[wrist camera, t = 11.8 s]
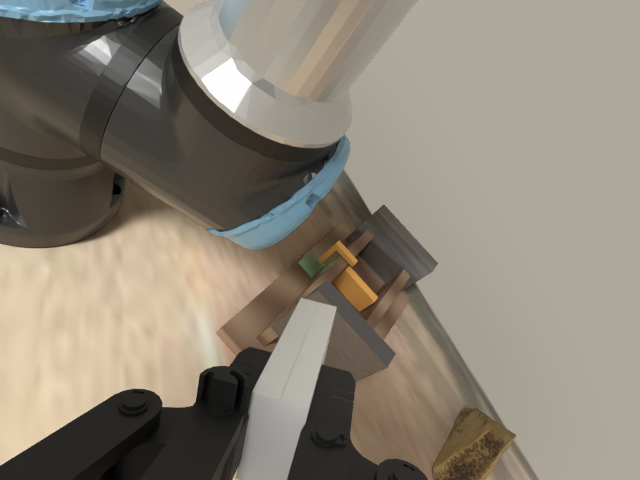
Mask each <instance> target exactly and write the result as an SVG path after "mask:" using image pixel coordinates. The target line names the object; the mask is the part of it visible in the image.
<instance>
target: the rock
mask: <svg viewBox="0 0 640 480" xmlns="http://www.w3.org/2000/svg"><path fill="white" fill-rule="evenodd" d="M515 437H516V435H515V434H514V433H512V432H511V431H509V430H507V429H506V428H504V427H503V426H502V425H500V424H499V423H497V422H496V421H494V420H492V419H491V418H490V417H488V416H487V415H486V414H484V413H483V412H481V411H479V410H478V409H467V410H466V411H465V410H464V411H463V412H461V413H460V415H459V416H458V418H457V421H456V423H455V426H454V428H453V429H452V432H451V433H450V436H449V438H448V440H447V442H446V443H445V444H444V446H443V448H442V450H441V451H440V454H439V456H438V459H437V461H436V462H435V463H434V465H433V471H432V472H433V475H434V479H435V480H486V478H487V477H488V476H489V475H490V474H491V472H492V471H493V470H494V468H495V466H496V464H497V463H498V461H499V459H500V457H501V456H502V454H503V453H504V452H505V451H506V450H507V449H508V448H509V446H510V444H511V443H512V442H513V439H514V438H515Z"/></svg>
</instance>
